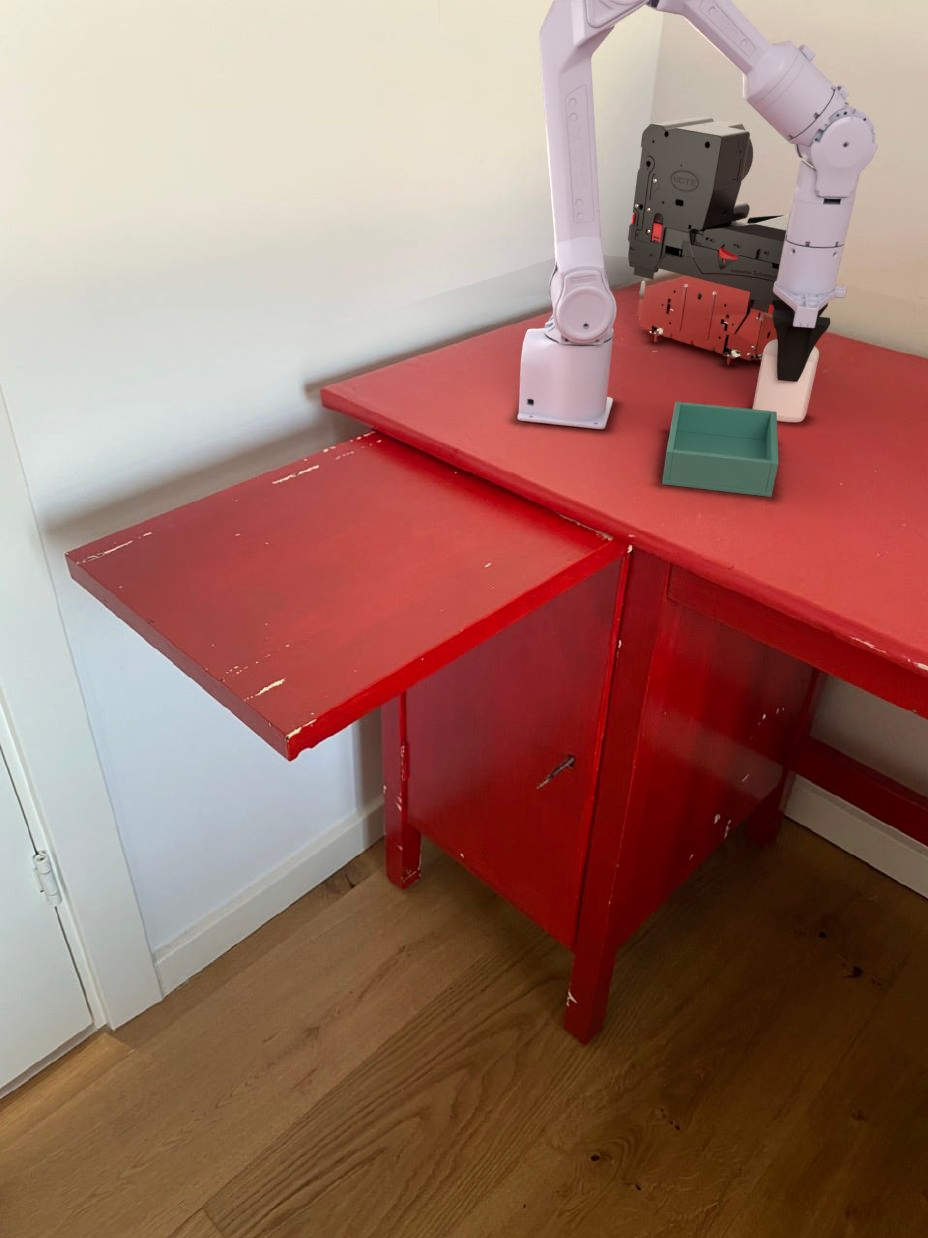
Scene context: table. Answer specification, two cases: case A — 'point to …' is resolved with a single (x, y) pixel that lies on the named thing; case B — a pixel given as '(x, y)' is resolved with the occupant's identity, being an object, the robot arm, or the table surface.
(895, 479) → the table surface
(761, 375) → the eye dropper bottle
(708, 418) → the desk tidy
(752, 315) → the bill acceptor
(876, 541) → the table surface
